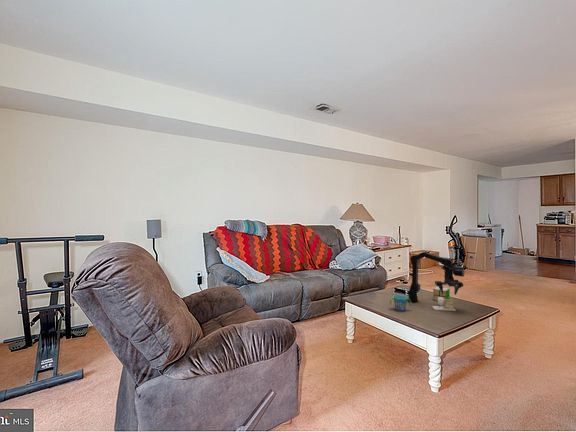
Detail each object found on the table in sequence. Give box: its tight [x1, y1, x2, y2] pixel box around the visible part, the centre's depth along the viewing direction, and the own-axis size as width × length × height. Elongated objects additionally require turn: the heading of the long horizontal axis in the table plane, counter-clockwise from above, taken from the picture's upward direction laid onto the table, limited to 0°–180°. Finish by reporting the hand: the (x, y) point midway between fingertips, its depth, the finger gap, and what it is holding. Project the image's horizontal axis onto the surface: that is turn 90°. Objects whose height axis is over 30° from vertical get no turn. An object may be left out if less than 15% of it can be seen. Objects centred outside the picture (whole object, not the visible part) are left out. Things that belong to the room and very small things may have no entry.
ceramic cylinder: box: [437, 297, 444, 307], centre depth 227 cm, size 4×4×6 cm
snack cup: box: [389, 294, 412, 312], centre depth 218 cm, size 16×10×10 cm
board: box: [431, 305, 457, 312], centre depth 218 cm, size 15×8×1 cm, turn 80°
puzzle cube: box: [432, 286, 451, 303], centre depth 239 cm, size 10×10×10 cm
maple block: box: [443, 299, 454, 309], centre depth 218 cm, size 5×5×6 cm
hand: (448, 294), depth 217 cm, fingers open, 9 cm apart
